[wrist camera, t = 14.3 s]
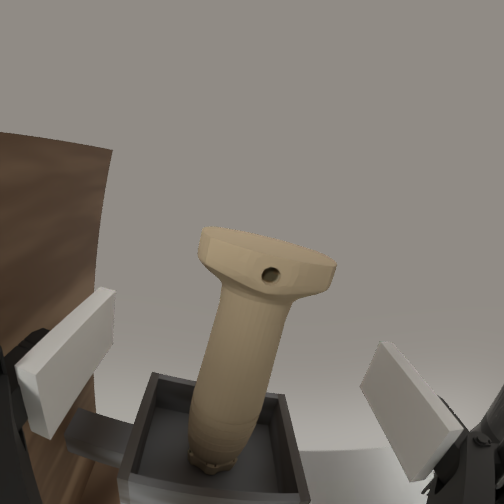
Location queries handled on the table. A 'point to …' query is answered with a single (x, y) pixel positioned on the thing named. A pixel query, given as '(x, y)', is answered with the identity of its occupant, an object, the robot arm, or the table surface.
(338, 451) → the table surface
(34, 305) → the bracket
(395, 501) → the table surface
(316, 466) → the table surface
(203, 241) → the handle
